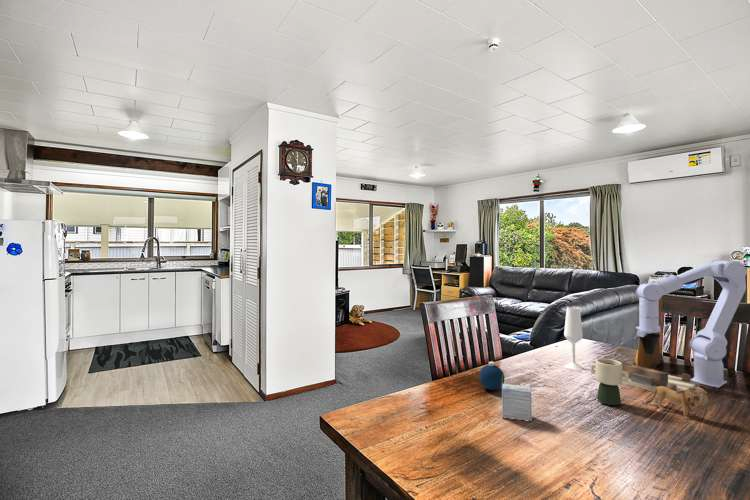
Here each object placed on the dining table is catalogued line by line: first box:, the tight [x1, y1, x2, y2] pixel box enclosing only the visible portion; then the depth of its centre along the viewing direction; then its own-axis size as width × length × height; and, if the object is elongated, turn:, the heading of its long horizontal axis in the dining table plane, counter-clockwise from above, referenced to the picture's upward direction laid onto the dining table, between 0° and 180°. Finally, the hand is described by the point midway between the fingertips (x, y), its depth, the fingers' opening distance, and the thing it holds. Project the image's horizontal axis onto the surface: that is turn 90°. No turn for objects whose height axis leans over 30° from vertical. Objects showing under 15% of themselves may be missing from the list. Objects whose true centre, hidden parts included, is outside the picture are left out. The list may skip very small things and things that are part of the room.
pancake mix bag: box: [634, 297, 664, 369], centre depth 152 cm, size 7×19×28 cm, turn 122°
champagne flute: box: [563, 306, 584, 371], centre depth 151 cm, size 7×7×24 cm
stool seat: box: [621, 360, 700, 392], centre depth 133 cm, size 18×22×4 cm
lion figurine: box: [645, 386, 709, 420], centre depth 109 cm, size 15×5×9 cm, turn 36°
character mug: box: [589, 358, 629, 406], centre depth 116 cm, size 11×7×13 cm, turn 35°
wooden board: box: [621, 362, 669, 387], centre depth 131 cm, size 14×3×4 cm, turn 32°
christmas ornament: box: [478, 361, 505, 391], centre depth 128 cm, size 8×8×10 cm
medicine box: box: [501, 383, 533, 422], centre depth 107 cm, size 8×4×9 cm, turn 71°
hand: (649, 353), depth 136 cm, fingers closed
